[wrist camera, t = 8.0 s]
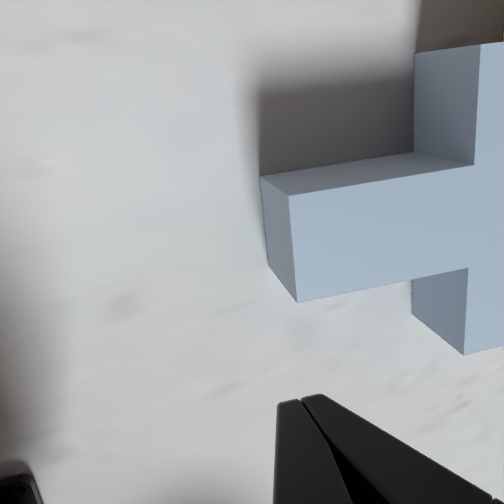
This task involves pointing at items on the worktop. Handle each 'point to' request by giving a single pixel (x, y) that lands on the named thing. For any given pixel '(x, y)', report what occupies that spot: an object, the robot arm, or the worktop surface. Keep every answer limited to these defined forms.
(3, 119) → the worktop surface
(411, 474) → the robot arm
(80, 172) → the worktop surface
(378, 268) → the t block
